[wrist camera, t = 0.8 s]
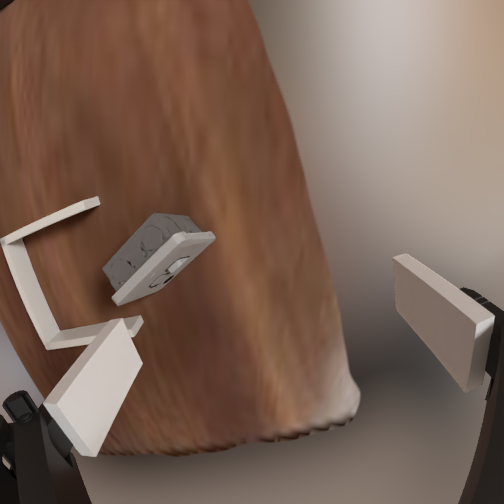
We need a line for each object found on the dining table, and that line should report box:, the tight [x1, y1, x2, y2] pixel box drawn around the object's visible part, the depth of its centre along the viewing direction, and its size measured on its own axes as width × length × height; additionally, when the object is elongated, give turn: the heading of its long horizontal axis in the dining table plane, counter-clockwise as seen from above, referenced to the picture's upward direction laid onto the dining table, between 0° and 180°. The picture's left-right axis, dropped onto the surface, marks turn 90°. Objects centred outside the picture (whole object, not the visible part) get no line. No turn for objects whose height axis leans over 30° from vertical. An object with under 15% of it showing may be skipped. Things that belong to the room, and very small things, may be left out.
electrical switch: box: [102, 213, 216, 306], centre depth 29 cm, size 9×5×9 cm, turn 132°
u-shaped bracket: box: [0, 196, 144, 350], centre depth 33 cm, size 16×15×4 cm
